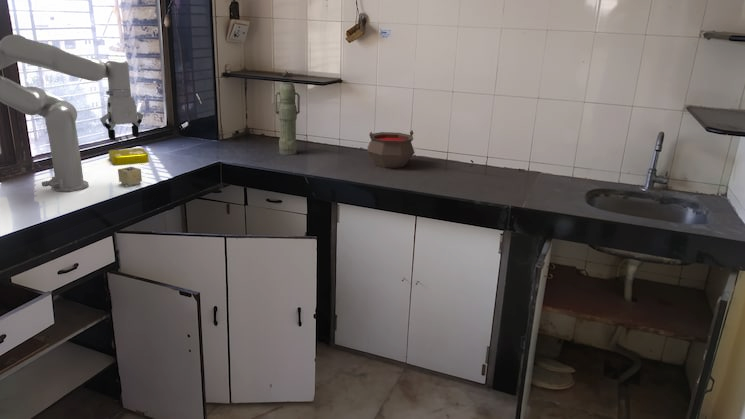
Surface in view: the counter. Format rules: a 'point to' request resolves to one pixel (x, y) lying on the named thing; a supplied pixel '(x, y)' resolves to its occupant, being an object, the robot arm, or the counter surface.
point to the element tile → (128, 156)
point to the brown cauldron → (391, 149)
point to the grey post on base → (132, 183)
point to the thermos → (287, 118)
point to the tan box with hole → (129, 175)
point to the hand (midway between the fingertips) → (124, 138)
